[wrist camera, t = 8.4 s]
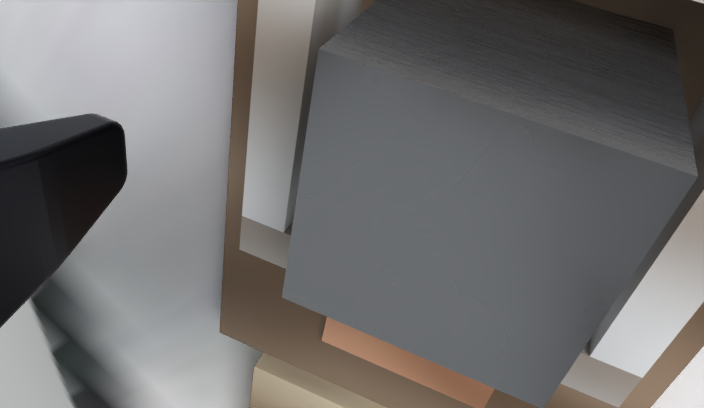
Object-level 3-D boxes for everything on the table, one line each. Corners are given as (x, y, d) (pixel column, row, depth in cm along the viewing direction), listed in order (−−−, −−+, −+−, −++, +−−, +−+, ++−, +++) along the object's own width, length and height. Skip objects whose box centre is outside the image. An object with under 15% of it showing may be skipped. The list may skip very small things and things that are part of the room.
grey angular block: (569, 223, 13) (543, 408, 9) (380, 154, 14) (282, 297, 10) (673, 29, 10) (698, 176, 6) (428, -43, 11) (318, 49, 7)
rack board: (579, 457, 18) (569, 579, 16) (238, 308, 21) (175, 390, 18) (1173, -281, 7) (1515, -327, 4) (298, -433, 10) (157, -526, 7)
